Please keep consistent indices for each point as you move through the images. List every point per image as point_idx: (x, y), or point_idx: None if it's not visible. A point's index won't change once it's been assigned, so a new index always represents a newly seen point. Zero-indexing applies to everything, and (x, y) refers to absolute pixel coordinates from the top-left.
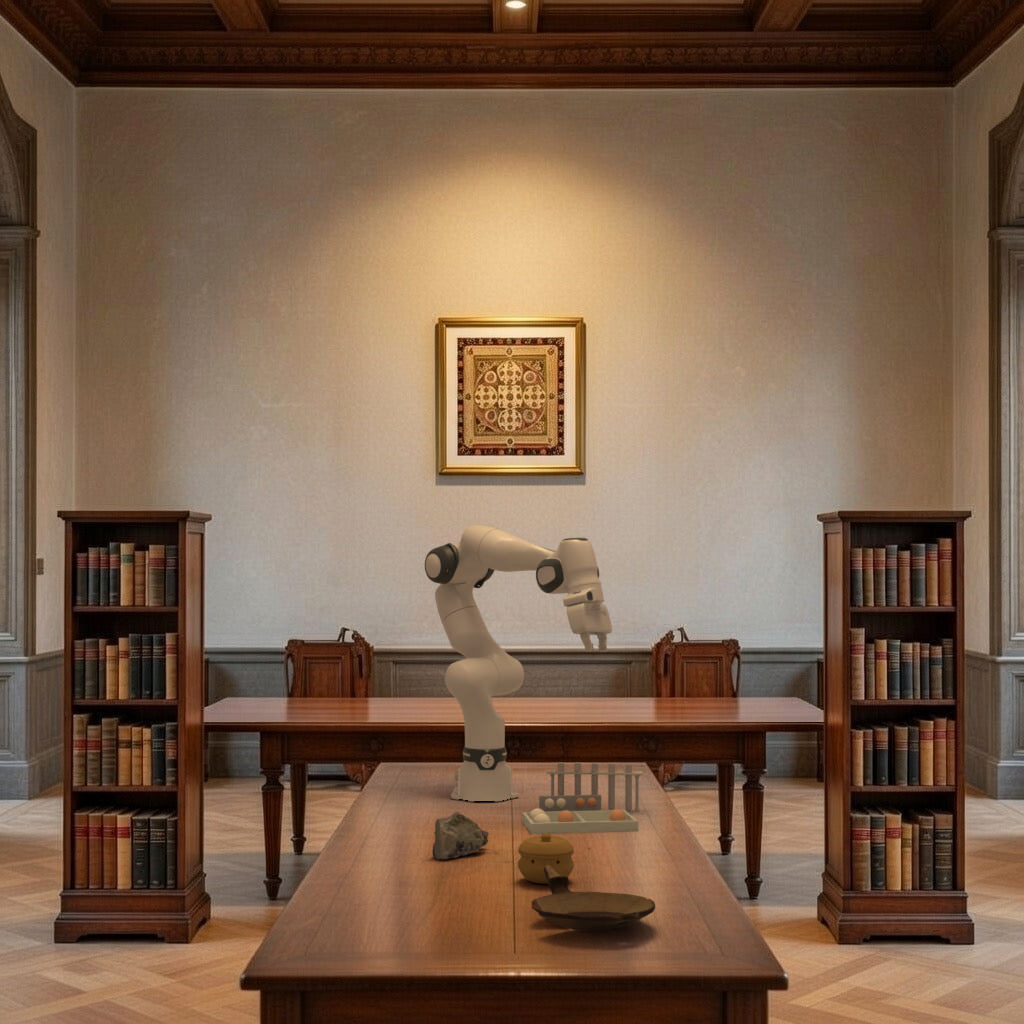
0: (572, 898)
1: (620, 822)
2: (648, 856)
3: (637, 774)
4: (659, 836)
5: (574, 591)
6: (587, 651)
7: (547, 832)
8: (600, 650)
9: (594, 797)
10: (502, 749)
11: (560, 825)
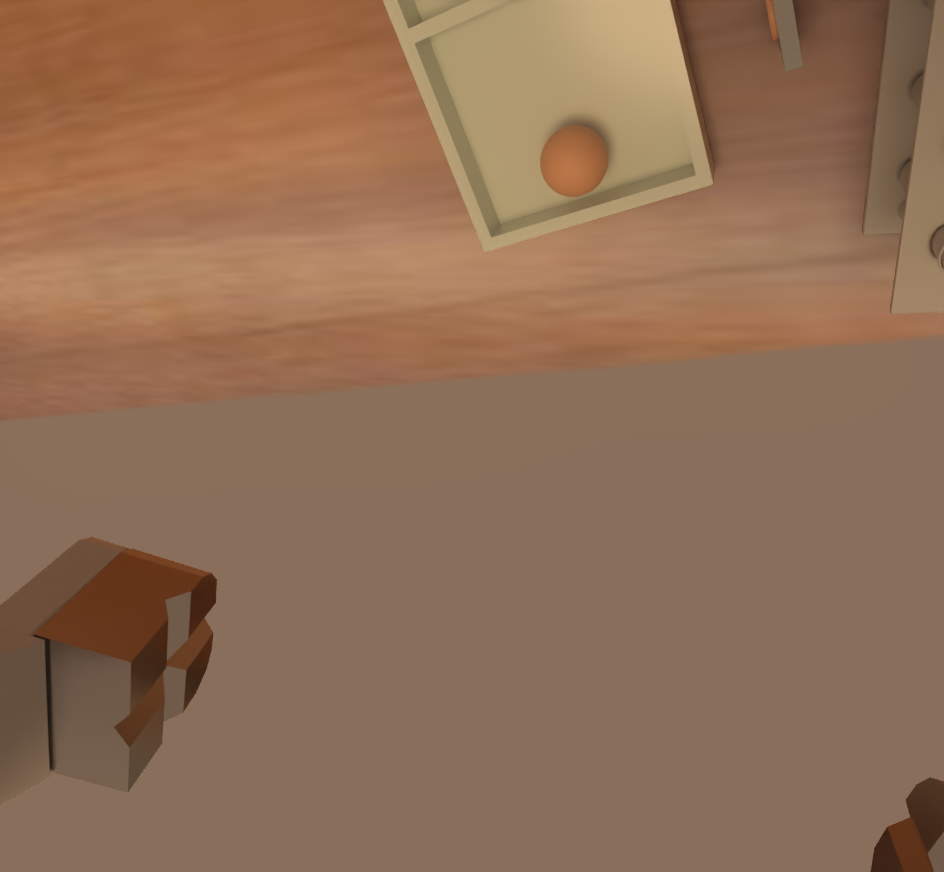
0: None
1: (459, 186)
2: (203, 278)
3: (893, 288)
4: (471, 303)
5: None
6: (122, 557)
7: None
8: (927, 809)
9: (777, 32)
10: None
11: None
